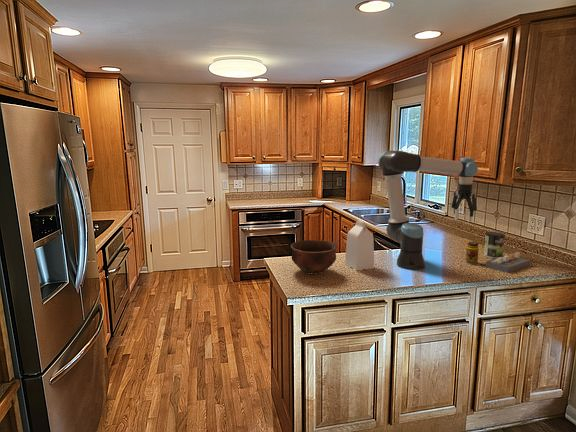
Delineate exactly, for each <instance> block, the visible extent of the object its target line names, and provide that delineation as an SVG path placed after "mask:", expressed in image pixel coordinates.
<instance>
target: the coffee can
mask: <svg viewBox="0 0 576 432" xmlns="http://www.w3.org/2000/svg"><path fill="white" fill-rule="evenodd" d="M505 237H506V234H505V233H501V232H496V231H488V232H485V243H484V251H483V256H484V257H486V258H489V259H497V258H499V257H503V256H504V249H505V248H504V247H505Z"/></svg>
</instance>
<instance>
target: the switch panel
mask: <svg viewBox="0 0 576 432" xmlns="http://www.w3.org/2000/svg"><path fill="white" fill-rule="evenodd" d="M506 255H507V256H509V254H506ZM504 256H505V255H503V257H504ZM503 257H502V258H503ZM514 257H515V255H514ZM497 259H498V258H497ZM497 259H496V258H492V259H491V260H488V261H485V265H484V267H485V268H489V269H492V270H495V271H499V272H503V273H506V274H508V273H512V272H514V271H516V270H519V269H522V268H526V267H528V265H529V266H531V262H532V260H531V259H529V258H524V257H520V258H516V259H514V260H510V261H507V262H503V263H501V264H498V263H497Z"/></svg>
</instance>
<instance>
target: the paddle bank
mask: <svg viewBox="0 0 576 432" xmlns="http://www.w3.org/2000/svg"><path fill="white" fill-rule="evenodd" d="M507 255H509V256H507ZM503 256H504V257H503V258H502V257H499V258H498V259H497V263H498V264H501V263H503V262H507V261H510V260H514V259H516V258H520V256H521V253H520V252H518V251H516V252H514V253H510V254H506V255H503ZM514 256H515V257H514Z"/></svg>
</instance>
